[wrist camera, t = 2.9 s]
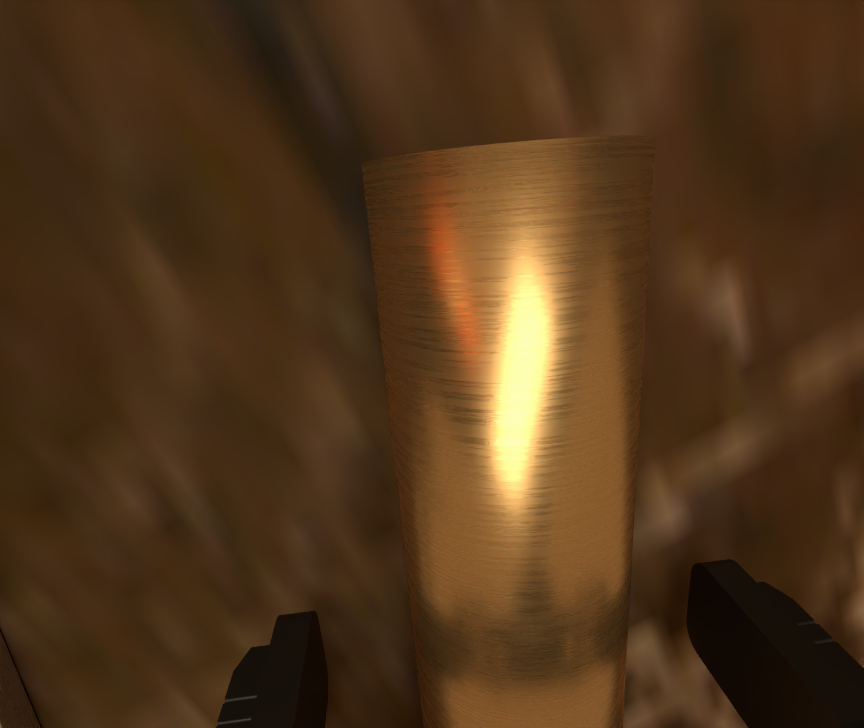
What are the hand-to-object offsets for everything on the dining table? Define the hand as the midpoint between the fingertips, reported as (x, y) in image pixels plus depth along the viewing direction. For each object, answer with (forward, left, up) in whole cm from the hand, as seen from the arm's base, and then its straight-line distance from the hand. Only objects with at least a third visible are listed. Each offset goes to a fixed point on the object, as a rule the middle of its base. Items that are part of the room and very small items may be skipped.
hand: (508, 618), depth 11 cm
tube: (0, 0, -1) cm, 1 cm away
